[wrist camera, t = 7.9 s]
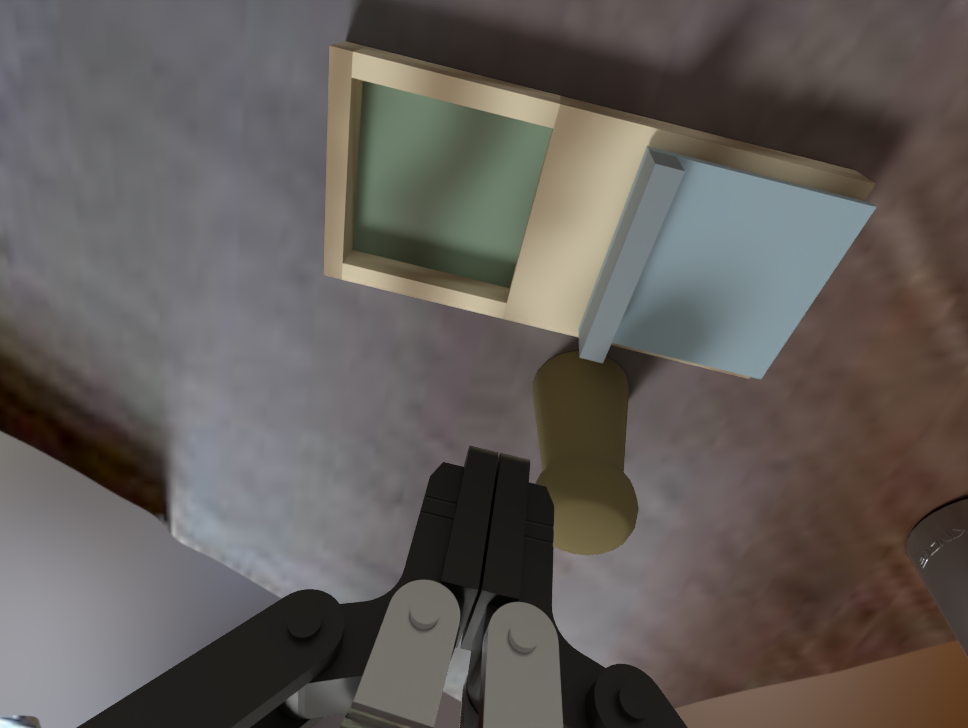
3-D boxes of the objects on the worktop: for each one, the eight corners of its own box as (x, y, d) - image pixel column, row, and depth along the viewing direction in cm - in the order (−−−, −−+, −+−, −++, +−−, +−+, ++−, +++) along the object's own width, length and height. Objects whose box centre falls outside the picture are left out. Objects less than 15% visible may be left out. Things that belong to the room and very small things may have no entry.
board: (855, 170, 25) (875, 184, 23) (739, 357, 31) (748, 378, 30) (345, 41, 24) (329, 45, 22) (336, 259, 31) (323, 275, 29)
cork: (541, 342, 32) (532, 481, 23) (641, 359, 32) (669, 505, 23) (525, 416, 36) (511, 560, 27) (614, 432, 36) (629, 582, 27)
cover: (869, 202, 23) (901, 225, 21) (757, 372, 29) (773, 404, 27) (647, 145, 23) (655, 163, 21) (578, 328, 29) (579, 357, 26)
